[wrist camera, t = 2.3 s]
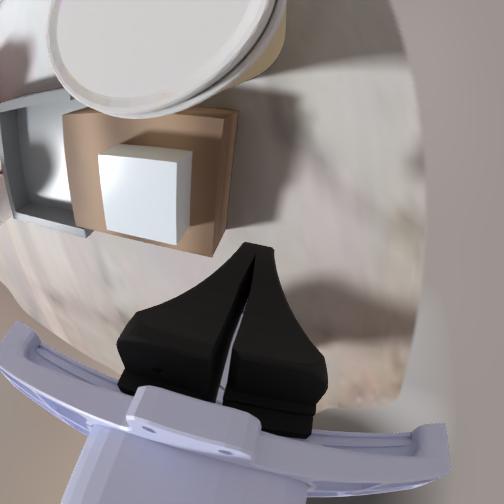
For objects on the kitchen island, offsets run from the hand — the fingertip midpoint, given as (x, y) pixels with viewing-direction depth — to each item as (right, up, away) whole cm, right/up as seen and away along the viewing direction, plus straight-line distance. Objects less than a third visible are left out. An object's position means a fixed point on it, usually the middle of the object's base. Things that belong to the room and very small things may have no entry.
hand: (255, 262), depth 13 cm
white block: (-7, +5, +5) cm, 10 cm away
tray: (-21, +10, +9) cm, 25 cm away
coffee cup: (-2, +15, +2) cm, 16 cm away
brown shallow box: (-8, +8, +9) cm, 14 cm away
